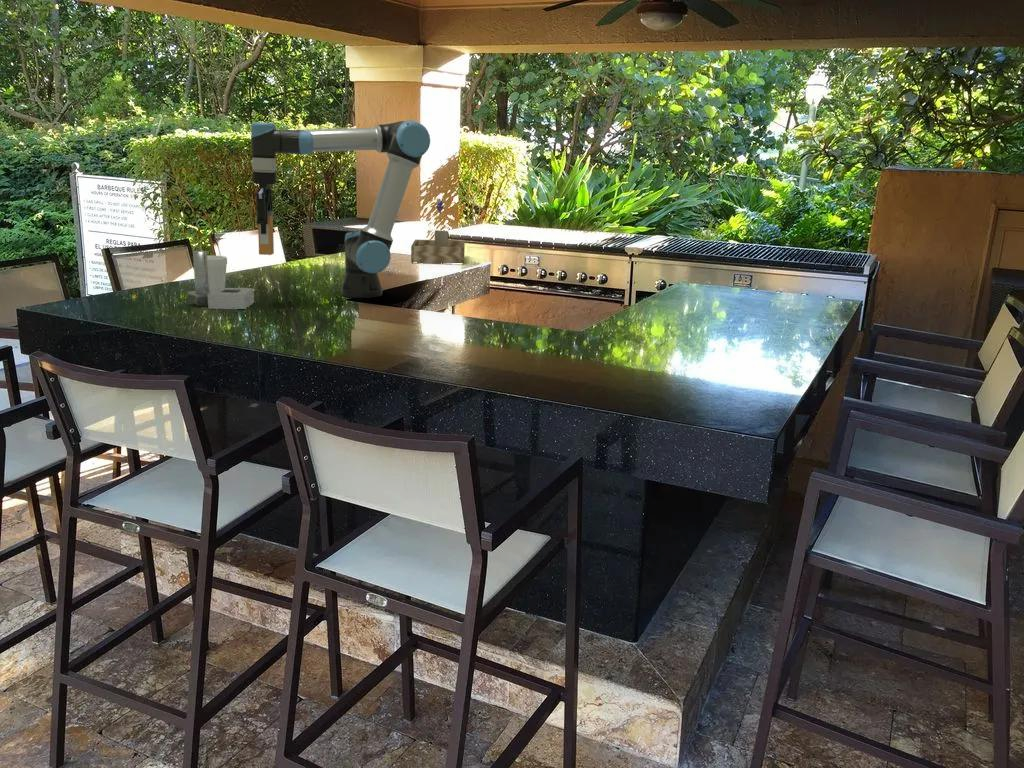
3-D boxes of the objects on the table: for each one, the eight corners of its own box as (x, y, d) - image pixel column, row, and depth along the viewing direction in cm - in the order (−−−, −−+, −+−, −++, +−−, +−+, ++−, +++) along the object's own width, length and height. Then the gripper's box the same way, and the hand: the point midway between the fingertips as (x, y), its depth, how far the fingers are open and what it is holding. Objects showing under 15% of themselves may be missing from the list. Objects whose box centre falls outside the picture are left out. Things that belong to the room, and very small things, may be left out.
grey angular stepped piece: (262, 296, 307) (260, 246, 302) (245, 309, 284) (242, 255, 279) (204, 295, 306) (201, 244, 301) (182, 307, 283) (178, 253, 278)
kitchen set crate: (464, 257, 426) (464, 241, 424) (463, 264, 401) (463, 247, 399) (415, 255, 425) (415, 239, 423) (411, 263, 400) (411, 246, 398)
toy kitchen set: (468, 260, 419) (468, 228, 415) (457, 264, 404) (457, 232, 399) (432, 257, 424) (432, 226, 419) (420, 261, 408) (420, 229, 404)
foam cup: (223, 296, 305) (221, 259, 302) (197, 295, 305) (195, 258, 302) (232, 291, 314) (230, 256, 311) (207, 290, 314) (204, 255, 311)
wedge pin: (275, 253, 290) (274, 210, 286) (272, 255, 286) (270, 212, 282) (260, 252, 290) (259, 210, 286) (257, 254, 285) (256, 211, 281)
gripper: (259, 169, 288) (260, 239, 295) (245, 171, 272) (248, 245, 278) (281, 171, 289) (283, 240, 295) (269, 172, 272) (271, 246, 279)
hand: (266, 242), depth 287 cm, fingers closed on wedge pin, 4 cm apart
